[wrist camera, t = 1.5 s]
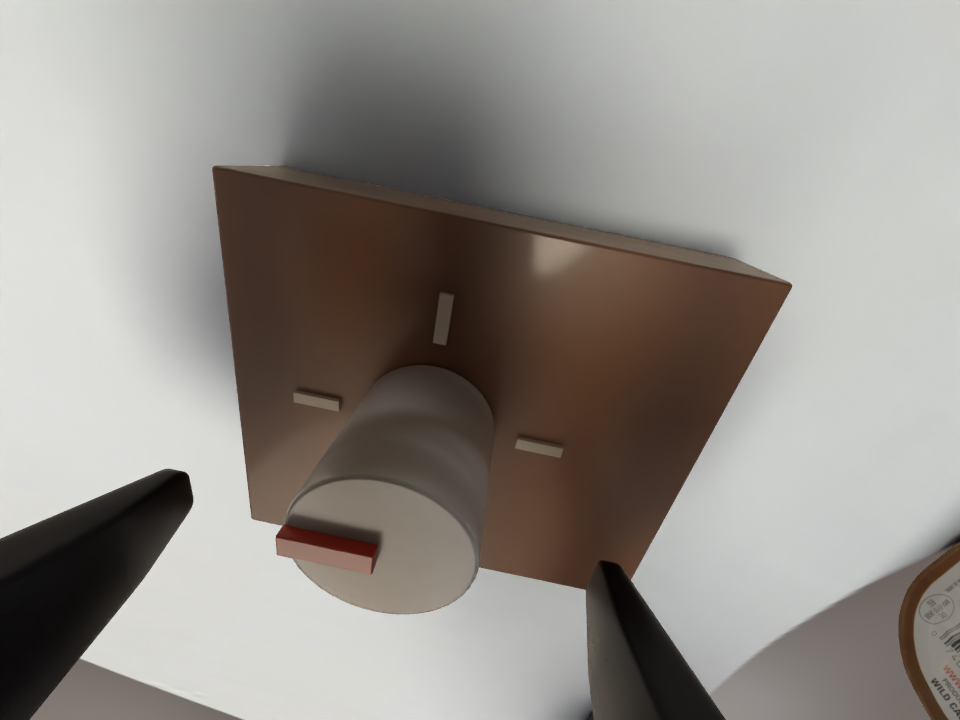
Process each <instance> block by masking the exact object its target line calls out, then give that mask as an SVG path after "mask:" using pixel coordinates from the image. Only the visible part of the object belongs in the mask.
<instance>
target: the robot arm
mask: <svg viewBox="0 0 960 720" xmlns="http://www.w3.org/2000/svg"><path fill="white" fill-rule="evenodd" d="M192 505H193V494H192V489H191V484H190V479H189V475H188V474H187V473H186V472H183V471H178V470H173V469H164V470H161V471H159V472H156V473H154V474H152V475H149V476H147V477H145V478H142V479H140V480H138V481H135V482H133V483H130V484H128V485H126V486H123V487H121V488H119V489H116V490H114V491H112V492H109V493H107V494H105V495H102V496H100V497H97V498H95V499H93V500H90V501H88V502H86V503H83V504H81V505H79V506H76V507H74V508H72V509H69V510H67V511H64V512H62V513H60V514H57V515H55V516H53V517H50V518H48V519H46V520H43V521H41V522H39V523H36V524H34V525H31V526H29V527H27V528H24V529H22V530H20V531H17V532H15V533H13V534H10V535H8V536H6V537H3V538H1V539H0V720H30V718H31V717H32V716H33V715H34V714H35V712H36V711H37V710H38V709H39V707H40V706H41V705H42V704H43V702H44V701H45V700H46V699H47V698H48V696H49V695H50V694H51V693H52V691H53V690H54V689H55V688H56V686H57V685H58V684H59V683H60V682H61V680H62V679H63V678H64V676H65V675H66V674H67V673H68V672H69V670H70V669H71V668H72V667H73V665H74V664H75V663H76V662H77V661H78V659H79V658H80V657H81V656H82V654H83V653H84V652H85V651H86V650H87V648H88V647H89V646H90V645H91V643H92V642H93V641H94V640H95V638H96V637H97V636H98V635H99V633H100V632H101V631H102V630H103V629H104V627H105V626H106V625H107V624H108V622H109V621H110V620H111V619H112V617H113V616H114V615H115V614H116V613H117V611H118V610H119V609H120V608H121V606H122V605H123V604H124V603H125V601H126V600H127V599H128V598H129V597H130V595H131V594H132V593H133V592H134V590H135V589H136V588H137V586H138V585H139V584H140V583H141V581H142V580H143V579H144V577H145V576H146V575H147V573H148V572H149V570H150V569H151V568H152V566H153V565H154V563H155V562H156V560H157V559H158V557H159V556H160V554H161V553H162V551H163V550H164V548H165V547H166V545H167V544H168V542H169V541H170V539H171V538H172V537H173V535H174V534H175V532H176V531H177V529H178V528H179V526H180V525H181V523H182V522H183V520H184V519H185V517H186V516H187V514H188V513H189V511H190V510H191V507H192ZM586 613H587V647H588V673H589V684H590V693H591V701H592V709H593V712H592V714H591V715H590V717H589V719H588V720H726V719H725V718H724V717H723V715H722V714H721V712H720V711H719V709H718V708H717V706H716V705H715V703H714V702H713V700H712V699H711V697H710V696H709V695H708V693H707V692H706V690H705V689H704V687H703V686H702V684H701V683H700V681H699V680H698V678H697V677H696V675H695V674H694V673H693V671H692V670H691V668H690V667H689V665H688V664H687V662H686V661H685V659H684V658H683V656H682V655H681V653H680V652H679V650H678V649H677V648H676V646H675V645H674V643H673V642H672V640H671V639H670V637H669V636H668V634H667V633H666V631H665V630H664V628H663V627H662V626H661V624H660V623H659V621H658V620H657V618H656V617H655V615H654V614H653V612H652V611H651V609H650V608H649V606H648V605H647V604H646V602H645V601H644V599H643V598H642V596H641V595H640V593H639V592H638V590H637V589H636V587H635V586H634V584H633V583H632V582H631V580H630V579H629V577H628V576H627V574H626V573H625V571H624V570H623V568H622V567H621V566H620V565H619V564H618V563H615V562H610V561H605V560H600V561H598V563H597V564H596V566H595V569H594V571H593V573H592V575H591V577H590V579H589V581H588V584H587V588H586Z"/></svg>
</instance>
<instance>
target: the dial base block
mask: <svg viewBox="0 0 960 720" xmlns="http://www.w3.org/2000/svg"><path fill="white" fill-rule="evenodd" d="M212 171H213V180H214V189H215V197H216V206H217V215H218V224H219V233H220V242H221V251H222V260H223V268H224V277H225V286H226V295H227V304H228V313H229V322H230V331H231V340H232V348H233V357H234V366H235V375H236V384H237V393H238V402H239V411H240V419H241V428H242V437H243V446H244V455H245V464H246V473H247V482H248V490H249V499H250V508H251V517H252V519H254V520H258V521H263V522H268V523H273V524H277V525H282V526H283V525H284V522H285V517H286V513H287V510H288V508H289V506H290V504H291V502H292V501H293V499H294V498H295V496H296V495H297V493H298V492H299V491H300V489H301V488H302V486H303V485H304V483H305V482H306V480H307V479H308V478H309V476H310V475H311V473H312V472H313V470H314V469H315V467H316V466H317V465H318V463H319V462H320V460H321V459H322V457H323V456H324V454H325V453H326V452H327V450H328V449H329V447H330V446H331V444H332V443H333V441H334V440H335V439H336V437H337V436H338V434H339V433H340V431H341V430H342V428H343V427H344V425H345V424H346V423H347V421H348V420H349V418H350V417H351V415H352V414H353V412H354V411H355V410H356V408H357V407H358V405H359V404H360V402H361V401H362V399H363V398H364V397H365V395H366V394H367V392H368V391H369V389H370V388H371V387H372V385H373V384H374V383H375V382H376V381H377V380H378V379H379V378H381V377H382V376H384V375H385V374H387V373H389V372H391V371H393V370H396V369H398V368H402V367H407V366H414V365H428V366H435V367H439V368H443V369H446V370H449V371H451V372H454V373H456V374H458V375H460V376H461V377H463V378H465V379H466V380H467V381H469V382H470V383H471V384H472V385H473V386H475V387H476V388H477V389H478V391H479V392H480V393H481V394H482V395H483V397H484V398H485V400H486V401H487V403H488V405H489V407H490V409H491V412H492V415H493V420H494V438H493V447H492V456H491V465H490V474H489V483H488V492H487V501H486V511H485V520H484V529H483V538H482V547H481V556H480V564H479V567H481V568H485V569H490V570H495V571H500V572H504V573H509V574H514V575H519V576H523V577H528V578H533V579H537V580H542V581H547V582H552V583H556V584H561V585H566V586H571V587H575V588H580V589H585V590H586V588H587V584H588V581H589V579H590V577H591V575H592V573H593V571H594V569H595V566H596V564H597V563H598V561H600V560H605V561H610V562H615V563H618V564H619V565H620V566H621V567H622V568H623V570H624V571H625V573H626V574H627V576H628V577H629V579H630V580H631V579H632V577H633V575H634V573H635V571H636V569H637V568H638V566H639V564H640V562H641V560H642V559H643V557H644V555H645V553H646V551H647V549H648V548H649V546H650V544H651V542H652V540H653V539H654V537H655V535H656V533H657V531H658V530H659V528H660V526H661V524H662V522H663V520H664V519H665V517H666V515H667V513H668V511H669V510H670V508H671V506H672V504H673V502H674V500H675V499H676V497H677V495H678V493H679V491H680V490H681V488H682V486H683V484H684V482H685V481H686V479H687V477H688V475H689V473H690V471H691V470H692V468H693V466H694V464H695V462H696V461H697V459H698V457H699V455H700V453H701V451H702V450H703V448H704V446H705V444H706V442H707V441H708V439H709V437H710V435H711V433H712V432H713V430H714V428H715V426H716V424H717V422H718V421H719V419H720V417H721V415H722V413H723V412H724V410H725V408H726V406H727V404H728V402H729V401H730V399H731V397H732V395H733V393H734V392H735V390H736V388H737V386H738V384H739V383H740V381H741V379H742V377H743V375H744V373H745V372H746V370H747V368H748V366H749V364H750V363H751V361H752V359H753V357H754V355H755V353H756V352H757V350H758V348H759V346H760V344H761V343H762V341H763V339H764V337H765V335H766V334H767V332H768V330H769V328H770V326H771V324H772V323H773V321H774V319H775V317H776V315H777V314H778V312H779V310H780V308H781V306H782V304H783V303H784V301H785V299H786V297H787V295H788V294H789V292H790V290H791V288H792V284H791V283H789V282H787V281H784V280H782V279H780V278H778V277H775V276H773V275H771V274H768V273H766V272H764V271H762V270H759V269H757V268H755V267H752V266H750V265H748V264H746V263H743V262H741V261H739V260H736V259H734V258H731V257H726V256H721V255H716V254H711V253H706V252H701V251H696V250H691V249H686V248H682V247H677V246H672V245H667V244H662V243H657V242H652V241H647V240H642V239H637V238H632V237H628V236H623V235H618V234H613V233H608V232H603V231H598V230H593V229H588V228H583V227H578V226H574V225H569V224H564V223H559V222H554V221H549V220H544V219H539V218H534V217H529V216H524V215H520V214H515V213H510V212H505V211H500V210H495V209H490V208H485V207H480V206H475V205H471V204H466V203H461V202H456V201H451V200H446V199H441V198H436V197H431V196H426V195H421V194H417V193H412V192H407V191H402V190H397V189H392V188H387V187H382V186H377V185H372V184H367V183H363V182H358V181H353V180H348V179H343V178H338V177H333V176H328V175H323V174H318V173H313V172H309V171H304V170H299V169H294V168H289V167H284V166H214V167H213V168H212Z"/></svg>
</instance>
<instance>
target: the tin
mask: <svg viewBox="0 0 960 720" xmlns="http://www.w3.org/2000/svg"><path fill="white" fill-rule="evenodd" d="M899 642H900V650H901V655H902V659H903V664H904V667H905V670H906V673H907V675H908V678H909V680H910V682H911V684H912V686H913V688H914V690H915V692H916V693H917V695H918V697H919V699H920V701H921V702H922V704H923V706H924V708H925V710H926V711H927V713H928V715H929V716H930V718H931V720H960V542H959V543H957V544H956V545H955V546H953V547H952V548H951V549H950V550H948V551H947V552H946V553H945V554H943V555H942V556H941V557H940V558H938V559H937V560H936V561H934V562H933V563H932V564H931V565H929V566H928V567H927V568H926V569H924V570H923V571H922V572H921V573H920V574H919V575H918V576H917V577H916V579H915V580H914V581H913V583H912V584H911V585H910V587H909V589H908V590H907V593H906V595H905V597H904V600H903V603H902V606H901V611H900V615H899Z"/></svg>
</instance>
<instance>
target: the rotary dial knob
mask: <svg viewBox="0 0 960 720" xmlns="http://www.w3.org/2000/svg"><path fill="white" fill-rule="evenodd" d="M493 438H494V420H493V415H492V412H491V409H490V407H489V405H488V403H487V401H486V400H485V398H484V397H483V395H482V394H481V393H480V392H479V391H478V389H477V388H476V387H475V386H473V385H472V384H471V383H470V382H469V381H467V380H466V379H465V378H463V377H461V376H460V375H458V374H456V373H454V372H451V371H449V370H446V369H443V368H439V367H435V366H428V365H414V366H407V367H402V368H398V369H396V370H393V371H391V372H389V373H387V374H385V375H384V376H382V377H381V378H379V379H378V380H377V381H376V382H375V383H374V384H373V385H372V387H371V388H370V389H369V391H368V392H367V394H366V395H365V397H364V398H363V399H362V401H361V402H360V404H359V405H358V407H357V408H356V410H355V411H354V412H353V414H352V415H351V417H350V418H349V420H348V421H347V423H346V424H345V425H344V427H343V428H342V430H341V431H340V433H339V434H338V436H337V437H336V439H335V440H334V441H333V443H332V444H331V446H330V447H329V449H328V450H327V452H326V453H325V454H324V456H323V457H322V459H321V460H320V462H319V463H318V465H317V466H316V467H315V469H314V470H313V472H312V473H311V475H310V476H309V478H308V479H307V480H306V482H305V483H304V485H303V486H302V488H301V489H300V491H299V492H298V493H297V495H296V496H295V498H294V499H293V501H292V502H291V504H290V506H289V508H288V510H287V513H286V517H285V522H284V525H283V526H282V528H281V529H280V531H279V532H278V534H277V535H276V547H277V555H279V556H284V557H289V558H293V560H294V561H295V563H296V564H297V566H298V567H299V568H300V569H301V570H302V572H303V573H304V574H305V575H306V576H307V577H308V578H309V579H310V580H311V581H313V582H314V583H315V584H316V585H318V586H319V587H320V588H322V589H323V590H325V591H326V592H328V593H329V594H331V595H333V596H335V597H337V598H339V599H340V600H343V601H345V602H347V603H350V604H352V605H355V606H358V607H361V608H364V609H368V610H372V611H376V612H382V613H390V614H417V613H424V612H429V611H433V610H436V609H440V608H442V607H444V606H447V605H449V604H451V603H452V602H454V601H456V600H457V599H458V598H460V597H461V596H462V595H463V594H464V593H465V592H466V591H467V590H468V589H469V588H470V586H471V584H472V583H473V581H474V580H475V578H476V575H477V573H478V570H479V564H480V556H481V547H482V538H483V529H484V520H485V511H486V501H487V492H488V483H489V474H490V465H491V456H492V447H493Z"/></svg>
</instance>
